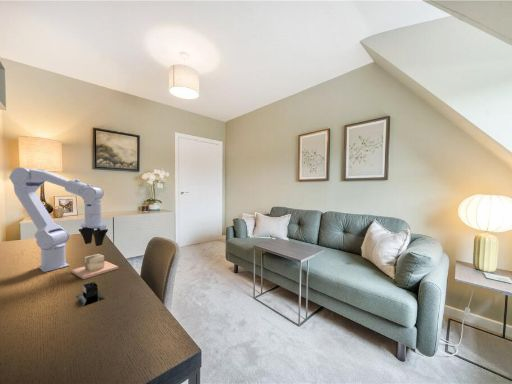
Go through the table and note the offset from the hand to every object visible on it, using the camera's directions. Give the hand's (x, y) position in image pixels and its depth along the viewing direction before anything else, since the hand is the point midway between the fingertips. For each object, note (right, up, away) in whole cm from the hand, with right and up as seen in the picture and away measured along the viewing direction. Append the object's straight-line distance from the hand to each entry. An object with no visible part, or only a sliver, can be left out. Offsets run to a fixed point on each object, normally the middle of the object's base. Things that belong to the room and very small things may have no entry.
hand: (93, 244), depth 91 cm
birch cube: (+5, -9, -5) cm, 11 cm away
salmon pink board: (+5, -10, -5) cm, 12 cm away
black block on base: (+20, -11, -26) cm, 34 cm away
